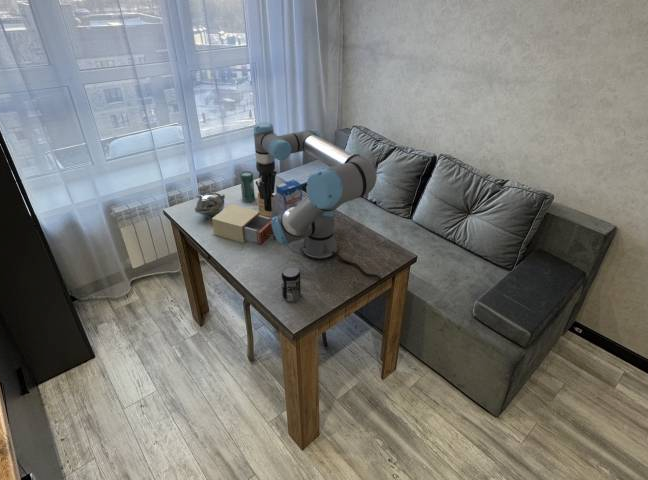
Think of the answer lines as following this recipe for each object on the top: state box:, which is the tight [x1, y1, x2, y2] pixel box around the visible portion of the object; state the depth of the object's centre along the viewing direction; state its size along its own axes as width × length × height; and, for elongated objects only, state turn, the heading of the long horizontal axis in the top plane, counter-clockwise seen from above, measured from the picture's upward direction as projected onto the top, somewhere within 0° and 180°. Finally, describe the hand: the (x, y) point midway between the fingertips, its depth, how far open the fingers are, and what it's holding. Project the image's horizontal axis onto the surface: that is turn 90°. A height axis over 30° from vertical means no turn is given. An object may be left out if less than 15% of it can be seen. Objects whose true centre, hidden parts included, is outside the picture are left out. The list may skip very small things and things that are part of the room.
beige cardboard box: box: [211, 203, 260, 244], centre depth 180 cm, size 16×14×9 cm
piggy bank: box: [194, 192, 226, 220], centre depth 190 cm, size 11×15×12 cm
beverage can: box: [281, 265, 302, 302], centre depth 144 cm, size 7×7×12 cm
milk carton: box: [275, 179, 303, 216], centre depth 186 cm, size 10×6×20 cm, turn 131°
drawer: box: [243, 215, 277, 246], centre depth 177 cm, size 20×13×7 cm, turn 68°
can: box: [239, 170, 256, 203], centre depth 204 cm, size 6×6×15 cm
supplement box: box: [257, 191, 278, 221], centre depth 191 cm, size 8×5×13 cm, turn 68°
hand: (268, 210), depth 173 cm, fingers closed
